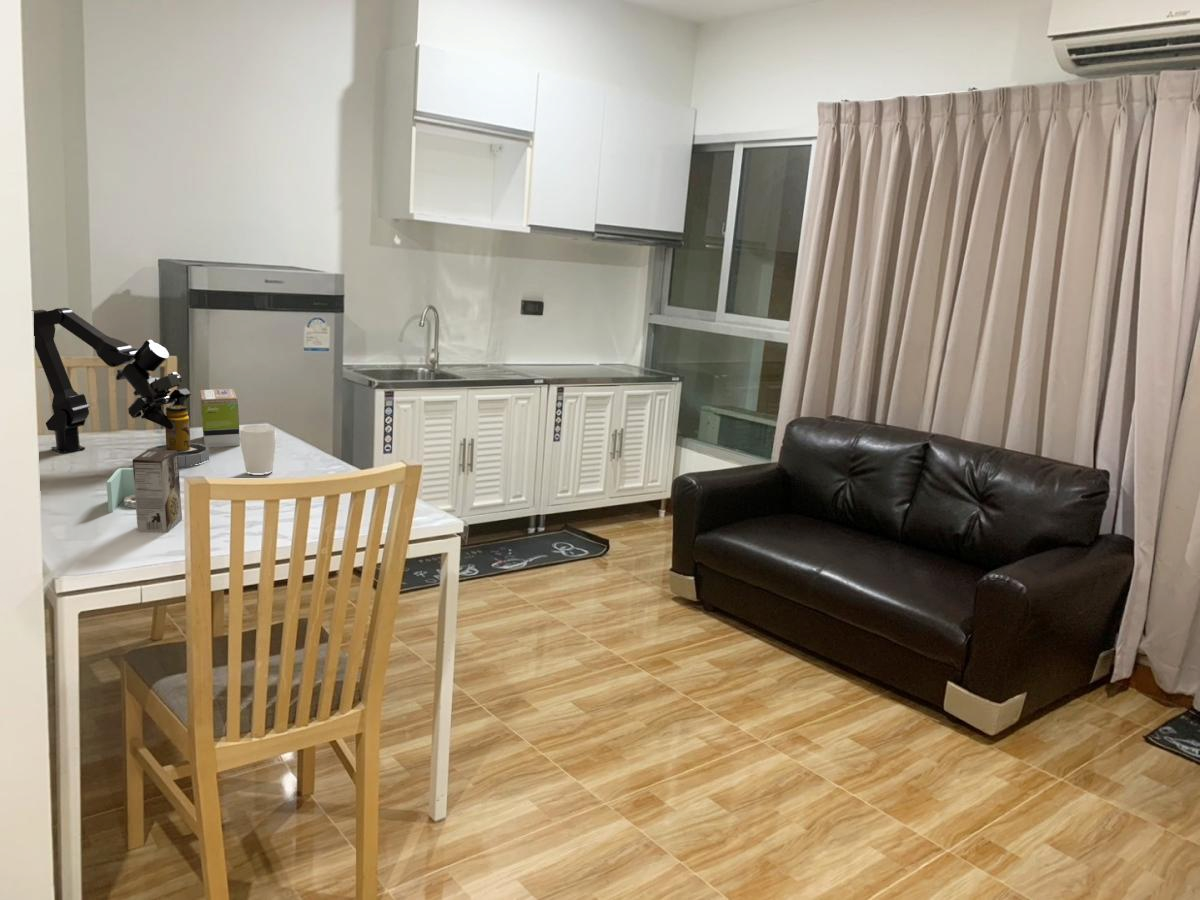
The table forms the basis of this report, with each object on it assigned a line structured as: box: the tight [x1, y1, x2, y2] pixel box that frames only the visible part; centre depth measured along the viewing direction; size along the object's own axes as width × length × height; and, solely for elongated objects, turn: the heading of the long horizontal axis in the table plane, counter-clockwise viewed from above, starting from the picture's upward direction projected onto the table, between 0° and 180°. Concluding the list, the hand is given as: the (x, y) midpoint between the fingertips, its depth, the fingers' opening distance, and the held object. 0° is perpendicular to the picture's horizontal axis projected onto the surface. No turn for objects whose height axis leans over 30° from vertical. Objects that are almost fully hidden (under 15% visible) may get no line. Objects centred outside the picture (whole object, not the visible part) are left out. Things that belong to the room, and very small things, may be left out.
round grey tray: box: [146, 442, 210, 468], centre depth 251 cm, size 16×16×3 cm
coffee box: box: [132, 448, 183, 534], centre depth 197 cm, size 9×6×16 cm
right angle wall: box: [106, 467, 136, 513], centre depth 213 cm, size 12×12×8 cm
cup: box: [239, 424, 277, 473], centre depth 242 cm, size 9×9×12 cm
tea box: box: [199, 388, 241, 448], centre depth 273 cm, size 15×10×15 cm
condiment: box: [156, 405, 197, 453], centre depth 248 cm, size 7×8×12 cm
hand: (180, 426), depth 249 cm, fingers closed on condiment, 6 cm apart
